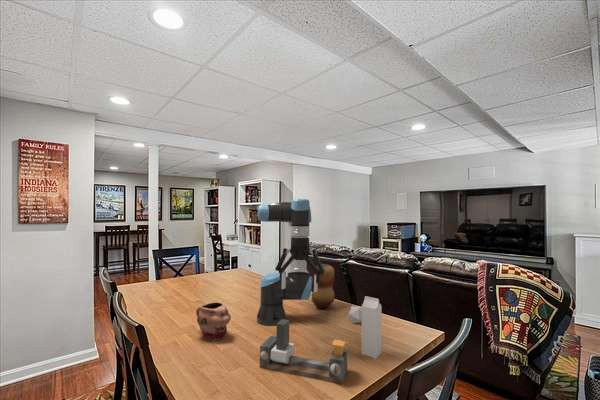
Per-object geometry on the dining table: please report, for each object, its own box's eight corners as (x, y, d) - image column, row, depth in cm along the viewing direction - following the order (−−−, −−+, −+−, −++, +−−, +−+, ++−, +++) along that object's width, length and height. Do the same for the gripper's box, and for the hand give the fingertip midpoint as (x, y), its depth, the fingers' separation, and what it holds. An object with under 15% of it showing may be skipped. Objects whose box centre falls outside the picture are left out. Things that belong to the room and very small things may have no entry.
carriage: (270, 362, 102) (271, 324, 102) (279, 352, 109) (279, 317, 110) (286, 365, 100) (286, 327, 100) (294, 354, 107) (294, 319, 108)
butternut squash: (328, 313, 159) (329, 267, 160) (307, 308, 165) (308, 265, 167) (338, 306, 171) (338, 264, 172) (318, 302, 177) (318, 262, 179)
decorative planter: (184, 337, 126) (185, 305, 127) (204, 327, 137) (204, 297, 138) (219, 346, 118) (220, 312, 118) (238, 335, 129) (238, 303, 129)
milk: (367, 348, 117) (367, 294, 119) (381, 353, 114) (381, 297, 115) (361, 354, 113) (361, 297, 114) (376, 359, 109) (375, 300, 110)
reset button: (331, 356, 96) (331, 344, 97) (334, 351, 100) (334, 339, 100) (343, 358, 95) (343, 346, 95) (345, 353, 99) (345, 341, 99)
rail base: (258, 367, 102) (259, 346, 102) (270, 355, 111) (270, 335, 111) (342, 385, 92) (342, 361, 92) (347, 370, 101) (347, 348, 101)
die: (361, 328, 140) (370, 310, 143) (346, 318, 141) (355, 301, 145) (358, 328, 147) (366, 311, 151) (343, 318, 149) (352, 302, 152)
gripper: (268, 236, 116) (267, 289, 115) (328, 238, 109) (327, 295, 107) (275, 235, 123) (274, 285, 122) (332, 237, 116) (331, 290, 114)
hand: (299, 290), depth 115 cm, fingers open, 13 cm apart
